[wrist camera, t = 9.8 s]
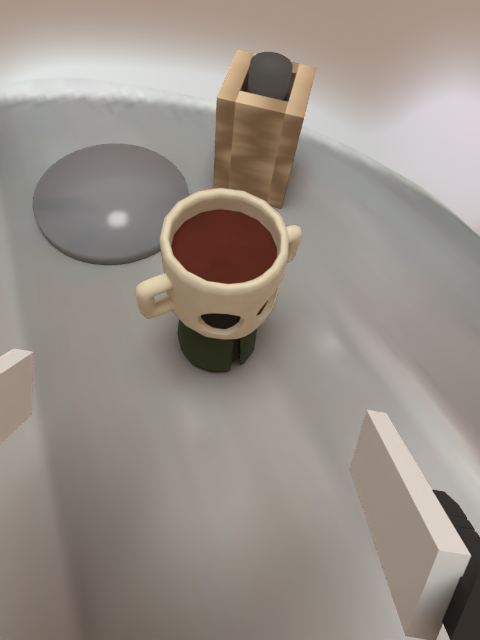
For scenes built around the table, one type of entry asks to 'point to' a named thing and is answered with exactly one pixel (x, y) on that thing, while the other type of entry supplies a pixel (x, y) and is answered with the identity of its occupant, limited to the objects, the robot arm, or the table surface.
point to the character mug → (219, 273)
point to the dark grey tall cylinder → (270, 75)
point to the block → (258, 132)
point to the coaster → (107, 202)
